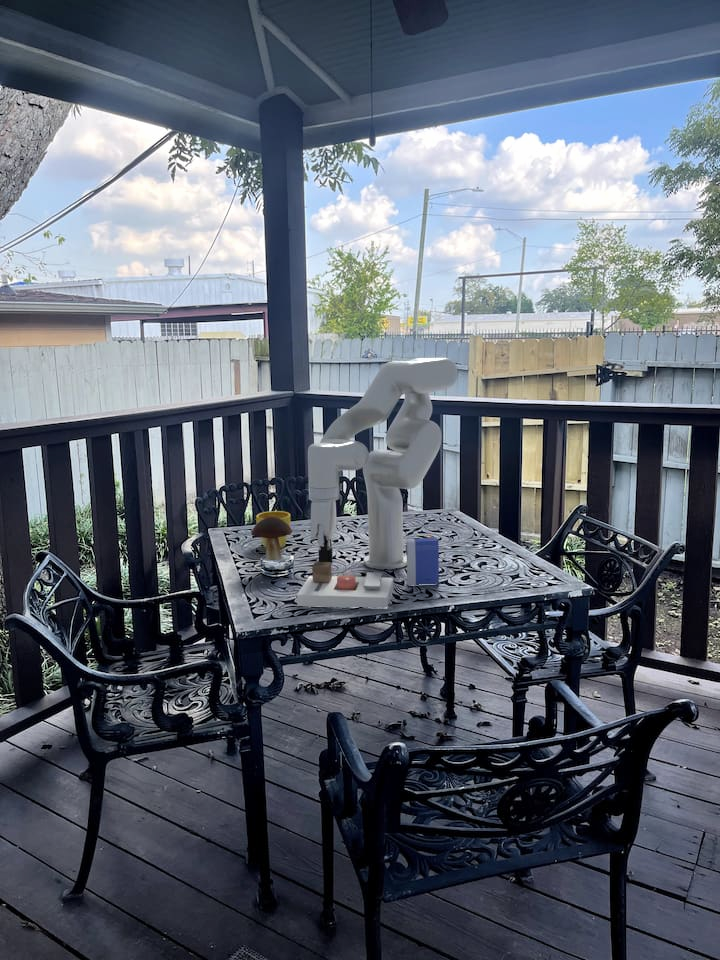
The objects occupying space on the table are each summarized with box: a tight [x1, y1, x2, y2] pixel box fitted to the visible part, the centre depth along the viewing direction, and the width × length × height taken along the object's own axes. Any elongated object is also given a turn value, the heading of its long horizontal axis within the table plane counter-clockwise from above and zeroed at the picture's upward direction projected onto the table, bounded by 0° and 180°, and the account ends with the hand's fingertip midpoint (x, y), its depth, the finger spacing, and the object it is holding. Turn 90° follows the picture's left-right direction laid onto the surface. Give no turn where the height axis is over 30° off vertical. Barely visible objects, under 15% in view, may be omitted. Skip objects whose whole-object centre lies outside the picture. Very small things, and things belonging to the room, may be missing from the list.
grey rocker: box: [364, 571, 383, 589], centre depth 155 cm, size 6×4×1 cm, turn 171°
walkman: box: [405, 535, 440, 585], centre depth 163 cm, size 8×3×12 cm, turn 96°
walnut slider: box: [311, 561, 333, 582], centre depth 160 cm, size 3×4×4 cm
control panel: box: [296, 575, 394, 608], centre depth 156 cm, size 13×21×4 cm, turn 81°
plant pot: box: [255, 510, 291, 549], centre depth 200 cm, size 10×10×10 cm
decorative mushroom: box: [251, 516, 293, 561], centre depth 177 cm, size 11×11×15 cm
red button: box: [337, 574, 356, 590], centre depth 156 cm, size 4×4×3 cm
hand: (325, 563), depth 166 cm, fingers closed
